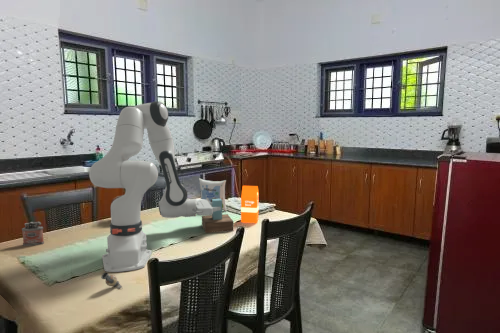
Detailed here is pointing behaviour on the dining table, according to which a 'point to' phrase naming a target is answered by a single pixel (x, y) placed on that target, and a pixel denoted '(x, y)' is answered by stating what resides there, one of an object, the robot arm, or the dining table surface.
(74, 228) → the dining table surface
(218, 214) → the teal block
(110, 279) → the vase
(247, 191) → the orange juice
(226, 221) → the walnut base
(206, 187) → the pouch
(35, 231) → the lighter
